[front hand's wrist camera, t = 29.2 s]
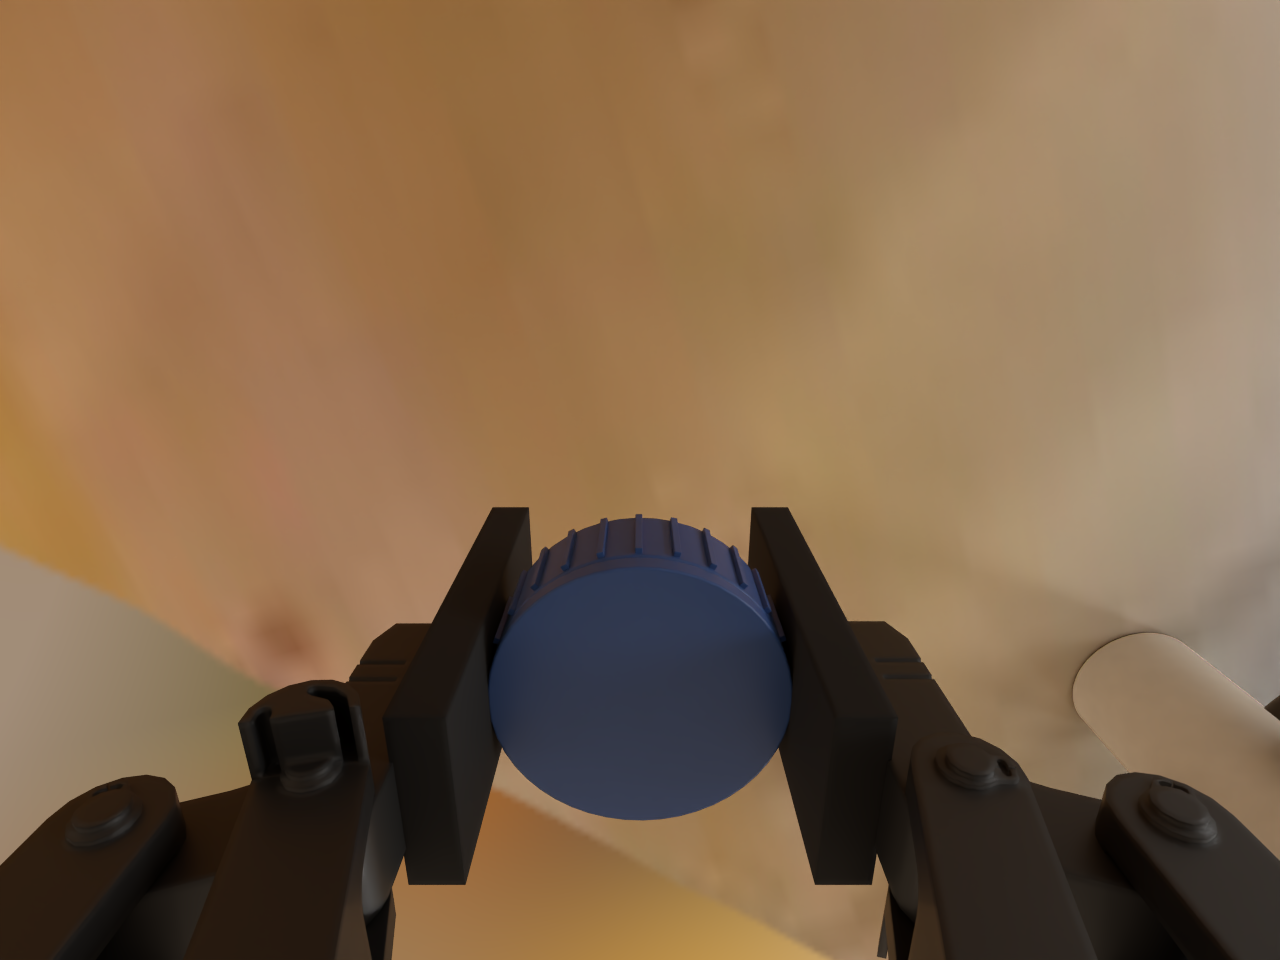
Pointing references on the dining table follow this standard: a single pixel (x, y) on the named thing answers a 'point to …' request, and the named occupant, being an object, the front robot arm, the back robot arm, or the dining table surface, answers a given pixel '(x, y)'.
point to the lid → (640, 671)
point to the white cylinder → (1185, 726)
